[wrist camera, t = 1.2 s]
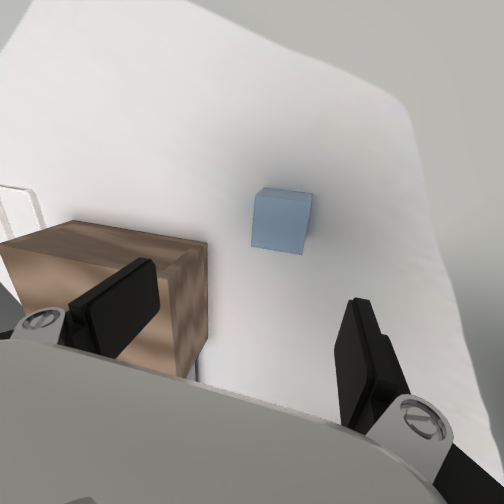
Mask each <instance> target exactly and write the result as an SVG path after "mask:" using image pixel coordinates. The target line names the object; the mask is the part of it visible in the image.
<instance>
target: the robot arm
mask: <svg viewBox="0 0 504 504" xmlns="http://www.w3.org/2000/svg"><path fill="white" fill-rule="evenodd" d="M68 307H69V310H68V311H67V312H66V313H65V311H64V310H63V309H62V308H59V307H50V308H44V309H40V310H37V311H35V312H32V313H30V314H29V315H27V316H25V317H24V318H23V319H21V320H20V321H19V323H18V324H17V326H16V328H15V330H11V331H7V332H3V333H0V504H504V487H503V486H502V485H501V484H500V483H498V482H497V481H496V480H495V479H494V478H493V477H492V476H490V475H489V474H488V473H487V472H486V471H485V470H483V469H482V468H481V467H480V466H479V465H478V464H477V463H475V462H474V461H473V460H472V459H471V458H470V457H468V456H467V455H466V454H465V453H464V452H463V451H462V450H460V449H459V448H458V447H457V446H456V445H455V444H454V443H453V437H454V436H453V432H452V428H451V426H450V424H449V423H448V421H447V419H446V418H445V417H444V416H443V414H442V413H441V412H440V411H439V410H438V409H437V408H435V407H434V406H433V405H432V404H430V403H429V402H427V401H426V400H424V399H422V398H420V397H417V396H415V395H411V393H410V390H409V388H408V385H407V382H406V380H405V377H404V375H403V372H402V370H401V367H400V364H399V362H398V359H397V357H396V354H395V351H394V349H393V346H392V344H391V341H390V339H389V337H388V336H387V335H384V334H381V331H380V328H379V326H378V323H377V320H376V317H375V314H374V311H373V309H372V306H371V303H370V301H369V300H366V299H361V298H356V297H355V298H354V299H353V300H349V301H348V304H347V307H346V310H345V314H344V317H343V320H342V324H341V327H340V330H339V333H338V337H337V340H336V343H335V348H334V356H335V366H336V376H337V386H338V396H339V406H340V417H341V425H339V424H336V423H333V422H330V421H327V420H325V419H322V418H319V417H315V416H312V415H309V414H305V413H302V412H299V411H296V410H292V409H289V408H286V407H283V406H279V405H276V404H272V403H269V402H265V401H262V400H258V399H255V398H251V397H248V396H244V395H241V394H237V393H234V392H230V391H227V390H223V389H220V388H216V387H213V386H209V385H206V384H202V383H199V382H195V381H192V380H188V379H184V378H181V377H177V376H174V375H170V374H167V373H163V372H159V371H156V370H152V369H149V368H145V367H141V366H138V365H134V364H130V363H127V362H123V361H119V360H116V358H117V357H118V356H119V355H120V354H121V352H122V351H123V350H124V349H125V348H126V347H127V346H128V345H129V344H130V343H131V342H132V340H133V339H134V338H135V337H136V336H137V335H138V334H139V333H140V332H141V331H142V330H143V328H144V327H145V326H146V325H147V324H148V323H149V322H150V321H151V320H152V319H153V318H154V316H155V315H156V314H157V313H158V312H159V310H160V297H159V289H158V280H157V272H156V265H155V263H154V262H153V261H152V260H151V259H148V258H142V257H139V258H137V259H136V260H134V261H133V262H131V263H130V264H128V265H127V266H125V267H123V268H122V269H120V270H119V271H117V272H116V273H114V274H113V275H111V276H110V277H108V278H107V279H105V280H104V281H102V282H101V283H99V284H98V285H96V286H94V287H93V288H91V289H90V290H88V291H87V292H85V293H84V294H82V295H81V296H79V297H78V298H76V299H75V300H73V301H72V302H70V303H69V304H68Z"/></svg>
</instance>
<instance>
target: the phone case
mask: <svg viewBox="0 0 504 504" xmlns="http://www.w3.org/2000/svg"><path fill="white" fill-rule="evenodd" d="M0 189H3V190H9V191H15V192H21V193H25V194H26V195H27V196H28V198H29V200H30V203H31V207H32V210H33V213H34V216H35V219H36V222H37V225H38V228H39V231H40V230H43V229H47V228H46V225H45V221H44V218H43V215H42V212H41V208H40V205H39V202H38V198H37V196H36V194H35V192H34V191H33V190H28V189H26V190H20V189H13V188H7V187H1V185H0ZM0 221H1V224H2V226H3V229H4V231H5V234H6V236H7V239H8V240H12V239H15V237H14V234H13V231H12V229H11V226H10V223H9V221H8V218H7V215H6V213H5V210H4V207H3V205H2V202H1V199H0Z"/></svg>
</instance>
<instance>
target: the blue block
mask: <svg viewBox="0 0 504 504" xmlns="http://www.w3.org/2000/svg"><path fill="white" fill-rule="evenodd" d="M311 205H312V193H304V192H296V191H287V190H279V189H271V188H263V189H262V190H261V191H260V192H259V193H258V194H257V195H255V204H254V217H253V229H252V242H251V247H257V248H263V249H269V250H275V251H281V252H287V253H293V254H299V255H302V253H303V248H304V242H305V237H306V232H307V226H308V221H309V215H310V210H311Z"/></svg>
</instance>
